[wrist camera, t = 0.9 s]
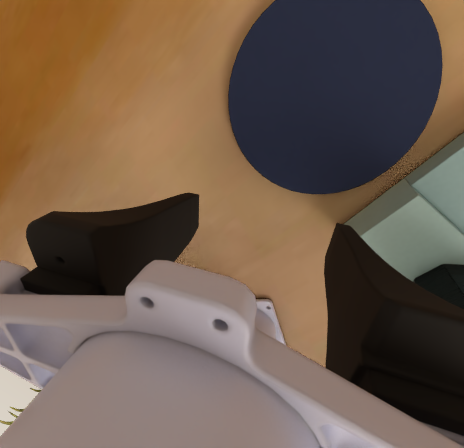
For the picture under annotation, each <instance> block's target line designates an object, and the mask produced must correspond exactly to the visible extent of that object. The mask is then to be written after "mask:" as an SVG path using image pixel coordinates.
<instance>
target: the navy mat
mask: <svg viewBox="0 0 464 448" xmlns="http://www.w3.org/2000/svg"><path fill="white" fill-rule="evenodd" d="M441 76H442V50H441V45H440V40H439V35H438V32H437V29H436V27H435V24H434V22H433V19H432V17H431V15H430V14H429V12H428V10H427V9H426V7H425V6H424V4H423V3H422V2H421V1H420V0H275V1H274V2H273V3H272V4H271V5H270V6H269V7H268V8H267V9H266V10H265V11H264V12H263V13H262V14H261V16H260V17H259V18H258V19H257V21H256V22H255V23H254V25H253V26H252V27H251V29H250V31H249V32H248V34H247V36H246V37H245V39H244V41H243V43H242V45H241V47H240V49H239V51H238V54H237V57H236V60H235V63H234V65H233V69H232V74H231V78H230V85H229V94H228V96H229V115H230V121H231V126H232V130H233V133H234V136H235V138H236V141H237V143H238V145H239V147H240V149H241V151H242V153H243V154H244V156H245V157H246V159H247V160H248V161H249V163H250V164H251V165H252V166H253V167H254V168H255V169H256V170H257V171H258V172H259V173H260V174H261V175H262V176H264V177H265V178H267V179H268V180H270V181H271V182H273V183H275V184H277V185H279V186H281V187H283V188H286V189H288V190H291V191H295V192H300V193H306V194H330V193H337V192H342V191H346V190H349V189H352V188H355V187H358V186H361V185H363V184H365V183H367V182H369V181H371V180H373V179H374V178H376V177H378V176H379V175H381V174H382V173H384V172H385V171H387V170H388V169H389V168H390V167H392V166H393V165H394V164H396V163H397V162H398V161H399V160H400V159H401V158H402V157H403V156H404V155H405V154H406V153H407V152H408V150H409V149H410V148H411V147H412V146H413V144H414V143H415V142H416V140H417V139H418V137H419V136H420V134H421V133H422V131H423V130H424V128H425V126H426V124H427V122H428V120H429V118H430V116H431V114H432V112H433V109H434V106H435V104H436V101H437V98H438V93H439V89H440V84H441Z"/></svg>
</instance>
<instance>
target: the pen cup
mask: <svg viewBox="0 0 464 448" xmlns="http://www.w3.org/2000/svg"><path fill="white" fill-rule="evenodd" d="M413 282H414V283H416V284H417V285H419V286H420V287H422V288H424V289H425V290H427V291H429V292H430V293H432V294H434V295H436V296H438V297H440V298H441V299H443V300H445V301H447V302H449V303H451V304H453V305H455V306H457V307H460V308H462V309H464V265H458V264H441V265H439V266H437V267H435V268H434V269H432V270H430V271H428V272H426V273H424V274H422V275H420V276H418V277H416V278H415V279H414V281H413Z"/></svg>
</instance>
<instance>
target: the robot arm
mask: <svg viewBox="0 0 464 448" xmlns="http://www.w3.org/2000/svg"><path fill="white" fill-rule="evenodd" d="M198 225H199V195H198V194H193V193H184V194H180V195H177V196H174V197H170V198H167V199H164V200H161V201H157V202H154V203H150V204H147V205H143V206H138V207H134V208H128V209H122V210H113V211H103V212H58V211H53V212H50V213H48V214H46V215H44V216H42V217H40V218H38V219H36V220H34V221H32V222H31V223H30V224H29V225H28V227H27V229H26V238H27V241H28V245H29V247H30V250H31V252H32V255H33V257H34V260H35V262H36V265H37V266H38V267H36V268H35V269H33V270H32V271H29V270H28V269H27V268H25V267H23V266H21V265H17V264H14V263H11V262H8V261H3V260H2V261H0V366H2V367H3V368H5V369H7V370H9V371H11V372H12V373H14V374H16V375H18V376H20V377H21V378H23V379H25V380H26V381H28V382H30V383H32V384H33V385H35V386H37V387H39V388H40V389H42V390H41V391H40V392H39V393H38V395H37V396H36V397H35V398H34V399H33V400H32V401H31V403H30V404H29V405H28V406H27V407H26V408H25V409H24V410H23V412H22V413H21V414H20V415H19V416H18V417H17V418H16V419H15V421H14V422H13V423H12V424H11V425H10V426H9V427H8V429H7V430H6V431H5V432H4V433H3V434H2V435H1V436H0V448H464V309H462V308H460V307H457V306H455V305H453V304H451V303H449V302H447V301H445V300H443V299H441V298H440V297H438V296H436V295H434V294H432V293H430V292H429V291H427V290H425V289H424V288H422V287H420V286H419V285H417V284H416V283H414V282H412V281H411V280H409V279H408V278H406V277H405V276H404V275H402V274H401V273H399V272H398V271H397V270H396V269H394V268H393V267H392V266H390V265H389V264H388V263H387V262H386V261H384V260H383V259H382V258H381V257H380V256H379V255H378V254H377V253H376V252H375V251H374V250H373V249H372V248H371V247H370V246H369V245H368V244H367V243H366V242H365V241H364V240H363V239H362V238H361V237H360V236H359V234H358V233H357V232H356V231H355V230H354V229H353V228H352V227H351V226H349V225H344V224H339V223H337V224H336V227H335V229H334V232H333V235H332V238H331V241H330V244H329V247H328V250H327V253H326V256H325V268H324V276H325V287H326V298H327V309H328V332H327V354H326V368H325V367H323V366H321V365H319V364H318V363H316V362H314V361H312V360H311V359H309V358H307V357H305V356H304V355H302V354H300V353H298V352H297V351H295V350H293V349H291V348H290V347H288V346H286V343H285V340H284V337H283V334H282V331H281V328H280V325H279V322H278V319H277V316H276V313H275V310H274V307H273V304H272V301H271V300H269V299H256V298H255V295H254V294H253V293H252V292H251V290H250V289H249V288H248V287H247V286H246V285H245V284H243V283H241V282H239V281H237V280H235V279H233V278H231V277H228V276H224V275H220V274H217V273H213V272H209V271H205V270H202V269H198V268H194V267H190V266H187V265H183V264H179V263H175V262H174V261H175V260H176V259H177V258H178V256H179V255H180V254H181V253H182V251H183V250H184V249H185V248H186V246H187V245H188V244H189V242H190V241H191V240H192V238H193V236H194V234H195V232H196V231H197V229H198ZM268 306H269V307H268Z"/></svg>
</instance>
